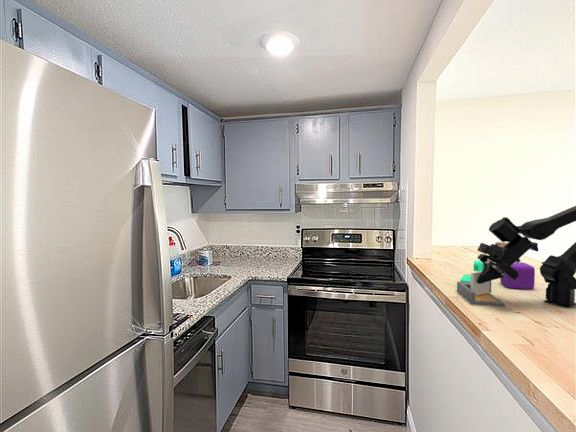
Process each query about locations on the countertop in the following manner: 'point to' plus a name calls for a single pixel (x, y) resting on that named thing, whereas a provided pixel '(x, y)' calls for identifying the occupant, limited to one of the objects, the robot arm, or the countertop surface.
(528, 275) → the toy camera
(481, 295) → the camera case
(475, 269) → the camera mount
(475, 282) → the door
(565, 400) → the countertop surface
